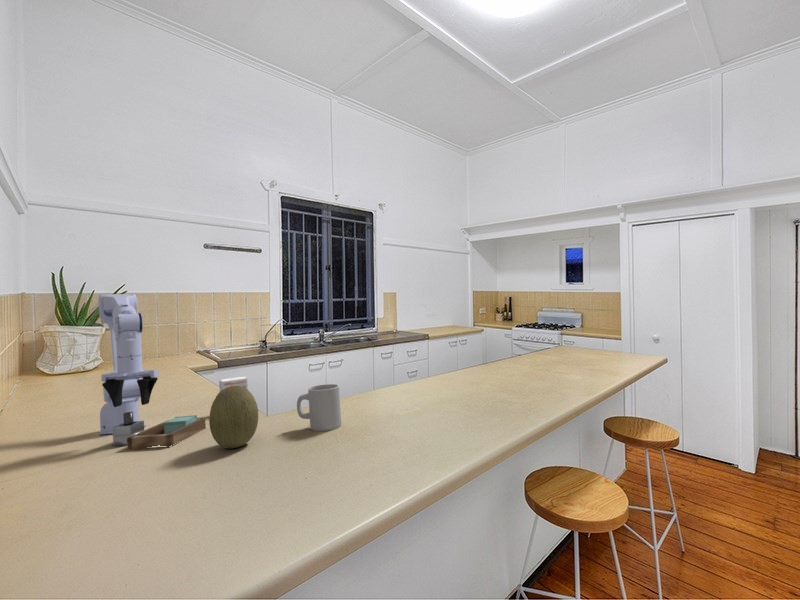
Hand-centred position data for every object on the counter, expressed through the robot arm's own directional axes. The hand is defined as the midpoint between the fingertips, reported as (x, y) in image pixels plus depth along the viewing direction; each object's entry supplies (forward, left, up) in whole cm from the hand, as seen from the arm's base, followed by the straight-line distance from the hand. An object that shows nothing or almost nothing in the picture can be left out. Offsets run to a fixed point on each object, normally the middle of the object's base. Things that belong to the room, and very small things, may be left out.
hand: (131, 405), depth 103 cm
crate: (+10, +6, -10) cm, 15 cm away
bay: (+10, +1, -10) cm, 14 cm away
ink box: (+16, +26, -10) cm, 32 cm away
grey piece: (0, -1, -10) cm, 10 cm away
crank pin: (0, -1, -7) cm, 7 cm away
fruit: (+34, -10, -10) cm, 37 cm away
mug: (+52, +2, -10) cm, 53 cm away
